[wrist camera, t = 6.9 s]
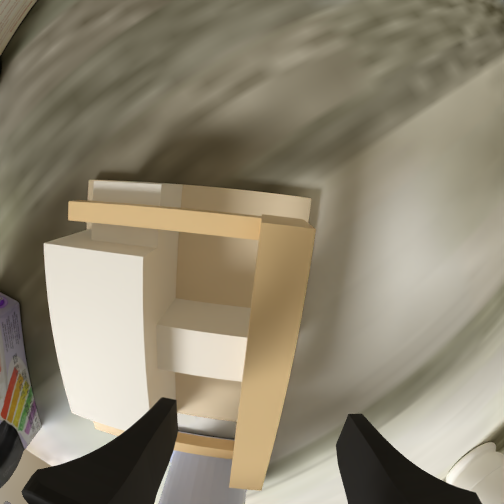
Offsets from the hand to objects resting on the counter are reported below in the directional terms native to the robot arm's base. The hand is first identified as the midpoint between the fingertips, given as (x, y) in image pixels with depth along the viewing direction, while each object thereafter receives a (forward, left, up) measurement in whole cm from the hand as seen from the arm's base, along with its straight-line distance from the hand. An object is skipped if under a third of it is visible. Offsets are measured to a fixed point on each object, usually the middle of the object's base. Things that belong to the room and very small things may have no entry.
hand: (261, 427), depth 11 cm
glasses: (0, +5, -5) cm, 7 cm away
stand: (0, +5, -10) cm, 12 cm away
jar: (-21, -32, -10) cm, 40 cm away
